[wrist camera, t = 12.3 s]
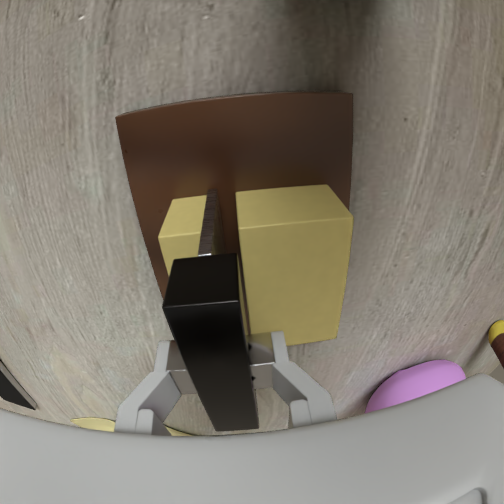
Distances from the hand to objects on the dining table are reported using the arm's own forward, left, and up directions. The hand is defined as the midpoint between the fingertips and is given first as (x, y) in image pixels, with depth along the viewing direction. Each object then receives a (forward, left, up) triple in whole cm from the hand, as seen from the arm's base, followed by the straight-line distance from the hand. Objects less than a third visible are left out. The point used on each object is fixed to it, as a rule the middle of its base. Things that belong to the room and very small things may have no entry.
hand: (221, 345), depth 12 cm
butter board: (0, +2, -8) cm, 8 cm away
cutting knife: (0, 0, -6) cm, 6 cm away
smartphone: (+17, -36, -8) cm, 41 cm away
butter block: (0, +4, -7) cm, 8 cm away
